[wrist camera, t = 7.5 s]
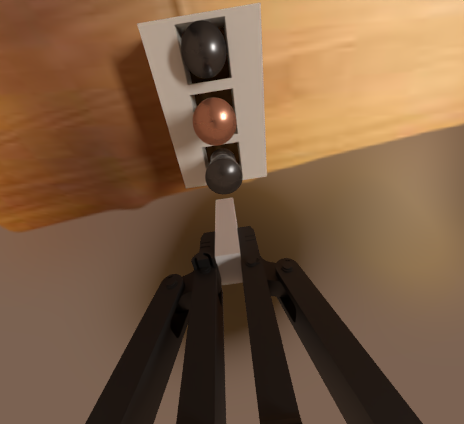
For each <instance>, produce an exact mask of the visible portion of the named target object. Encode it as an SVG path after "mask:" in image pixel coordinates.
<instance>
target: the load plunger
mask: <svg viewBox="0 0 464 424" xmlns="http://www.w3.org/2000/svg"><path fill="white" fill-rule="evenodd" d="M236 124H237V121H236V115H235V113H234V110H233V109H232V107H231V106H230V105H229V104H228V103H227V102H226V101H224V100H223V99H220V98H214V97H213V98H208V99H205V100H203V101H202V102H201V103H200V104H199V105H198V106H197V108H196V109H195V111H194V114H193V128H194V131H195V133H196V135H197V136H198V137H199V138H200V139H201V140H202V141H203V142H205V143H206V144H209V145H214V146H217V145H222V144H224V143H226V142H228V141H229V140H230V139H231V138H232V136H233V135H234V133H235V130H236Z"/></svg>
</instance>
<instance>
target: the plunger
mask: <svg viewBox="0 0 464 424" xmlns="http://www.w3.org/2000/svg"><path fill="white" fill-rule="evenodd" d="M242 179H243V175H242V170H241V168H240V166H239V164H238V163H237V162H236V159H235V156H234V154H233V152H232V151H230V150H229V149H226V148H220V149H217V150H215V151H214V152H213V153H212V155H211V158H210V164H209V165H208V167H207V169H206V174H205V180H206V183H207V185H208V187H209V188H210V189H211V190H212V191H214V192H215V193H218V194H230V193H232V192H234V191H236V190H237V189H238V188H239V186H240V185H241V183H242Z"/></svg>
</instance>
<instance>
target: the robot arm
mask: <svg viewBox="0 0 464 424" xmlns="http://www.w3.org/2000/svg"><path fill="white" fill-rule="evenodd" d="M191 262H192V264H193V267H194V271H193V272H191V273H190V274H188V275H185V276H183V277H181V276H180V275H178V274H172V275H169V276H167V277H166V278H165V279H164V280H163V281H162V282H161V284H160V286H159V288H158V290H157V291H156V293H155V295H154V297H153V299H152V301H151V303H150V305H149V306H148V308H147V310H146V312H145V314H144V316H143V317H142V320H141V321H140V323H139V325H138V327H137V329H136V330H135V332H134V334H133V336H132V338H131V340H130V342H129V343H128V345H127V347H126V349H125V351H124V353H123V355H122V356H121V358H120V360H119V362H118V364H117V366H116V368H115V369H114V371H113V373H112V375H111V377H110V379H109V381H108V383H107V384H106V386H105V388H104V390H103V392H102V394H101V395H100V397H99V399H98V401H97V403H96V405H95V407H94V408H93V411H92V412H91V414H90V416H89V418H88V420H87V421H86V423H85V424H153V423H154V420H155V417H156V414H157V412H158V409H159V406H160V403H161V400H162V397H163V394H164V391H165V388H166V385H167V383H168V380H169V377H170V374H171V371H172V368H173V365H174V362H175V359H176V356H177V353H178V351H179V348H180V345H181V342H182V339H183V336H184V333H185V330H186V327H187V325H188V330H187V339H186V347H185V355H184V364H183V372H182V380H181V388H180V397H179V405H178V414H177V422H176V424H226V401H225V362H224V325H223V324H224V323H223V292H222V288H221V282H222V285H226V284H234V283H241V282H243V286H244V294H245V303H246V311H247V320H248V328H249V336H250V345H251V352H252V361H253V369H254V377H255V386H256V394H257V402H258V411H259V419H260V424H302V422H301V418H300V415H299V410H298V406H297V402H296V398H295V394H294V390H293V386H292V382H291V377H290V373H289V369H288V365H287V361H286V357H285V353H284V349H283V344H282V340H281V336H280V332H279V328H278V324H277V320H276V316H275V311H274V307H273V304H272V299H271V296H276V297H277V298H278V300H279V302H280V304H281V305H282V307H283V309H284V311H285V313H286V314H287V316H288V318H289V320H290V322H291V323H292V325H293V327H294V329H295V330H296V332H297V334H298V336H299V338H300V340H301V342H302V343H303V345H304V347H305V349H306V350H307V352H308V354H309V356H310V358H311V360H312V361H313V363H314V365H315V367H316V369H317V370H318V372H319V374H320V376H321V378H322V379H323V381H324V383H325V385H326V386H327V388H328V390H329V392H330V394H331V396H332V397H333V399H334V401H335V403H336V405H337V406H338V408H339V410H340V412H341V414H342V415H343V417H344V419H345V421H346V423H347V424H423V423H422V422H421V421H420V420H419V418H418V417H417V416H416V414H415V413H414V412H413V411H412V409H411V408H410V407H409V405H408V404H407V403H406V402H405V400H404V399H403V398H402V397H401V395H400V394H399V393H398V391H397V390H396V389H395V388H394V386H393V385H392V384H391V382H390V381H389V380H388V379H387V377H386V376H385V375H384V374H383V372H382V371H381V370H380V369H379V367H378V366H377V365H376V363H375V362H374V361H373V359H372V358H371V357H370V356H369V354H368V353H367V352H366V350H365V349H364V348H363V347H362V345H361V344H360V343H359V342H358V340H357V339H356V338H355V336H354V335H353V334H352V333H351V331H350V330H349V329H348V327H347V326H346V325H345V324H344V322H343V321H342V320H341V318H340V317H339V316H338V315H337V314H336V312H335V311H334V310H333V308H332V307H331V306H330V304H329V303H328V302H327V301H326V299H325V298H324V297H323V296H322V294H321V293H320V292H319V290H318V289H317V288H316V287H315V285H314V284H313V283H312V281H311V280H310V279H309V278H308V276H307V275H306V274H305V272H304V271H303V270H302V269H301V267H300V266H299V265H298V264H297V263H296V262H295V261H294V260H292V259H288V258H284V259H281V260H279V261H278V262H277V263H273V262H268V261H265V260H264V259H262V257H261V256H260V254H259V250H258V245H257V241H256V237H255V233H254V230H253V229H252V228H251V227H250V226H247V227H240V228H237V221H236V215H235V208H234V201H233V198H227V199H220V200H216V216H215V232H208V233H204V234H203V235H202V237H201V241H200V251H199V253H198V254H196V255H195V256H194V257H193V258H192V261H191Z"/></svg>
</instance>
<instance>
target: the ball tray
mask: <svg viewBox="0 0 464 424" xmlns="http://www.w3.org/2000/svg"><path fill="white" fill-rule="evenodd" d="M199 20H205V21H209V22H211V23H212V24H214V25H215V26H216V27H217V28H221V27H224V35H225V43H226V50H227V61H228V69H229V78H226V79H220V80H214V81H207V82H201V83H195V84H192V80H191V76H190V71H189V69H188V68H187V66H186V65H185V63H184V60H183V57H182V53H181V41H182V34H184V32H185V30H186V29H187V27H188V26H189V25H190V24H192V23H193V22H195V21H199ZM137 25H138V28H139V32H140V35H141V38H142V42H143V45H144V48H145V52H146V55H147V58H148V62H149V65H150V69H151V72H152V75H153V79H154V82H155V85H156V89H157V92H158V95H159V99H160V102H161V106H162V109H163V112H164V116H165V119H166V122H167V126H168V129H169V133H170V136H171V139H172V143H173V146H174V149H175V153H176V156H177V159H178V163H179V166H180V170H181V173H182V176H183V180H184V183H185V186H186V188H192V187H199V186H205V185H207V183H206V180H205V174H206V169H207V167H208V165H209V162H208V157H207V153H206V148H205V147H208V146H214V145H209V144H206V143H205V142H203V141H202V140H201V139H200V138H199V137H198V136H197V135H196V133H195V131H194V128H193V114H194V111H195V109H196V108H197V104H196V100H195V95H194V94H201V93H207V92H213V91H219V90H225V89H231V95H232V104H233V110H234V113H235V115H236V121H237V124H236V130H235V133H234V135H233V136H232V138H231V139H230V140H229V141H228V142H226V143H224V144H228V143H234V142H237V147H238V155H239V166H240V168H241V170H242V175H243V179H242V180H246V179H252V178H259V177H266V176H267V168H266V141H265V113H264V86H263V58H262V31H261V3H255V4H249V5H244V6H238V7H232V8H226V9H220V10H214V11H208V12H202V13H197V14H191V15H185V16H179V17H173V18H167V19H161V20H155V21H150V22H144V23H138V24H137Z"/></svg>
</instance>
